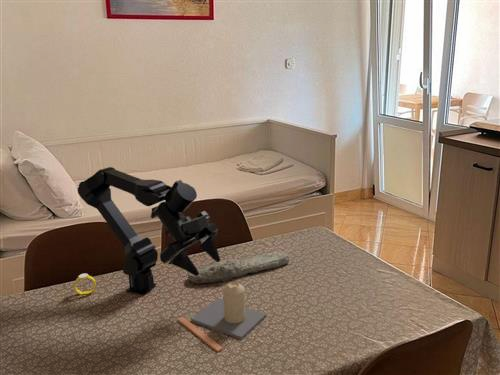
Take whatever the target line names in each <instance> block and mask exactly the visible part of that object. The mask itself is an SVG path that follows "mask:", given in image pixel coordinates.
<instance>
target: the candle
mask: <svg viewBox="0 0 500 375" xmlns="http://www.w3.org/2000/svg"><path fill="white" fill-rule="evenodd" d="M222 292H223V300H224V318H225V321H226V322H228V323H232V324H237V323H241V322H242V321H244V319H245V307H246V299H245V298H246V296H245V295H246V293H245V292H246V290H245V287H244V286H243V285H242V284H240V283H239V282H236V281H230V282H228V283H227V284H226V285H225V286H224V287H223V289H222Z"/></svg>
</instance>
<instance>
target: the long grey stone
mask: <svg viewBox="0 0 500 375" xmlns="http://www.w3.org/2000/svg"><path fill="white" fill-rule="evenodd" d="M288 263H290V257H289V253H286V252H283V251H281V252H279V251H278V252H276V251H273V252H267V253H262V254H257V255H256V254H255V255H251V256H246V257H243V258H242V257H241V258H234V259H233V258H225V259H222V260H220V261H219V262H216V261H215V262H210V263H209V264H206V265H202V266H200V267H196V269H197V270H198V272H199V275H198V276H195V275H193V274H191V273H190V272H188V274H187V278H188V280H189V281H190V282H192V283H195V284H206V283H208V284H209V283H216V282H220V281H222V282H223V281H224V282H226V281H228V280H232V279H234V278H238V277H242V276H244V275H247V274H248V273H258V272H260V271H265V270H272V269H276V268H278V267H281V266H284V265H287V264H288Z"/></svg>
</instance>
